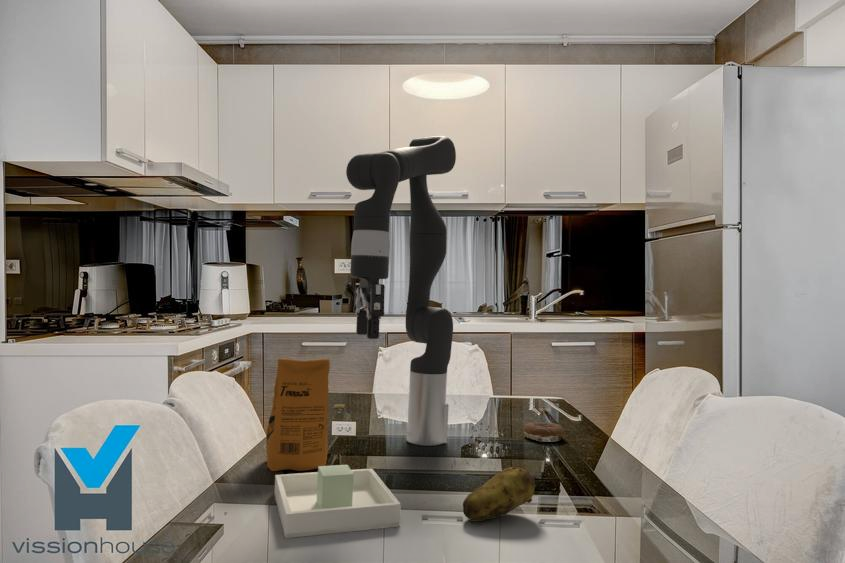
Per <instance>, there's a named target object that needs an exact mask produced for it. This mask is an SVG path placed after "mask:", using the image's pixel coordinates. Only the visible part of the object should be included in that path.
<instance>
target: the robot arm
mask: <svg viewBox="0 0 845 563" xmlns="http://www.w3.org/2000/svg"><path fill="white" fill-rule="evenodd" d="M456 158H457V153H456V147H455V143H454V142H453V141H452V139H450V137H447V136H446V135H436V136H435V135H434V136H425V137H417V138H413V139H412V140H411V141H410V143H409V145H408V146H407V147H405V146H404V147H397V148H393V149H389V150H388V149H387V150H385V151H382V152H372V153H371V152H369V153H361V154H356V155H355V156H353V157H352V158H351V159H350V160H349V161H348V163H347V165H346V170H345V171H346V172H345V174H346V178H347V181H348V182H349V184H350V185H351V186H352V187H353V188H355V189H357V190H361V191H371V190H373V191H374V192H373V193H372V195H371V197H369V198H366V199H365V200H361V201H359V202H357V203H356V204H355V205H354V209H353V233H352V238H351V245H350V248H351V249H350V250H351V251H350V277H351V278H353V279H360V280H359V283H357V282H355V284H354V300H353V312H354V313H355V316H356V325H355V326H356V329H355V333H356V334H357V335H360V336H361V335H362V336H365V335H366V338H367V339H369V340H370V339H371V340H377V339H379V337H380V321H381V319H382V317H384V315H385V293H386V292H385V288H386V286H385V284H384V283H383V284H382V283H380V280H387V279H388V278H389V270H390V268H389V267H390V232H389V231H390V212H391V210H392V205H393V201H394V198H395V195H396V191H397V188H398V185H399V183H401V182H404V181H406V180H408V182H409V197H410V200H409V201H410V214H409V216H410V220H409V221H410V223H409V224H410V225H409V275H408V276H409V278H408V279H409V280H408V292H407V303H406V311H405V331H406V334H407V338H408V339H409V340H410V341H412V342H414V343H419V344H425V349H424V353H423V354H421V355H420V356H417V357H414V358H412V359H411V360H410V366H409V367H410V368H409V369H410V370H409V383H408V385H409V386H408V390H409V391H408V405H407V406H408V408H407V409H408V410H407V428H406V430H407V431H406V441H407V442H408V443H410V444H413V445H418V446H423V447H424V446H426V447H427V446H430V447H431V446H438V445H442V444H447V443H448V429H449V428H448V425H449V404H448V403H447V382H448V380H447V379H448V367H449V364H450V361H451V355H452V344H453V335H454V320H453V317H452V314H451V312H450V311H449V310H448V309H446V308H444V307H436V306H435V307H433V306H430V302H431V301H430V299H431V298H430V296H431V288H432V285H433V282H434V280H435V278H436V277H437V275H438V273H439V271H440V269H441V267H442V265H443V263H444V261H445V259H446V255H447V245H448V244H447V239H448V237H447V233H448V232H447V226H446V223H445V221H444V219H443V217H442V215H441V214H440V212H439V211H438V208H436V206H435V204H434V202H433V200H432V198H431V196H430V193H429V189H428V182H427V181H428V180H427V178H428V176H434V175H436V176H437V175H445V174H447V173H450V172H451V171H452V170H453V169H454V167H455V165H456Z"/></svg>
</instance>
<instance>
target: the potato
mask: <svg viewBox="0 0 845 563" xmlns="http://www.w3.org/2000/svg"><path fill="white" fill-rule="evenodd" d="M535 488H536V481H535V478H534V477H533V476H532V474H531V473H530V472H528V471H527V470H525V469H524V468H521V467H519V466H509V467H505V468H504V469H502V470H501V471H499V472H497V473H496V474H494V475H493V476H492V477H491V478H490V479H489V480H487V481H486V482H485V483H484V484H483V485H481V486H480V487H478V488H476V489H475V490H473V491H471V493H469V494H468V495H467V496H466V497H465V499H464V500H463V503H462V511H463V515H464V516H465V518H467V519H468V520H470V521H471V522H482V521H485V520H490V519H497V518H499V517H502V516H504V515H506V514H508V513H511V511H513V510H514V509H516V508H518V507H520V506H522V505H524V504H527V503H530V504H531V503H532V502H533V498H532V497H533V496H534V494H535Z"/></svg>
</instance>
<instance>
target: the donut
mask: <svg viewBox="0 0 845 563" xmlns="http://www.w3.org/2000/svg"><path fill="white" fill-rule="evenodd" d="M523 427H524V428H523V431H522V432H523V434H524V433H525V434H527V435H530V436H534V437H541V438H550V437H551V438H552V437H559V436H562V435H564V433H565V430H564V428H563V427H562V426H561V425H560V424H557V423H554V422H553V423H552V422H530V423H526V424H525V425H524V426H523ZM564 436H565V435H564Z"/></svg>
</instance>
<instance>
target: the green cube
mask: <svg viewBox="0 0 845 563" xmlns="http://www.w3.org/2000/svg"><path fill="white" fill-rule="evenodd" d="M351 470H352V469H351V468H350V466H349V465H348V464H336V465H335V464H334V465H332V464H331V465H325V466H318V469H317V472H318V481H317V501H316V502H317V504H318V507H319V509H327V508H338V507H349V506H352V498H353V478H354V474H353V472H352V471H351Z"/></svg>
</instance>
